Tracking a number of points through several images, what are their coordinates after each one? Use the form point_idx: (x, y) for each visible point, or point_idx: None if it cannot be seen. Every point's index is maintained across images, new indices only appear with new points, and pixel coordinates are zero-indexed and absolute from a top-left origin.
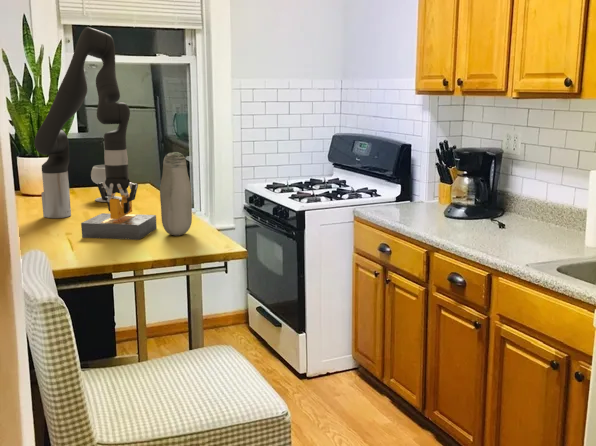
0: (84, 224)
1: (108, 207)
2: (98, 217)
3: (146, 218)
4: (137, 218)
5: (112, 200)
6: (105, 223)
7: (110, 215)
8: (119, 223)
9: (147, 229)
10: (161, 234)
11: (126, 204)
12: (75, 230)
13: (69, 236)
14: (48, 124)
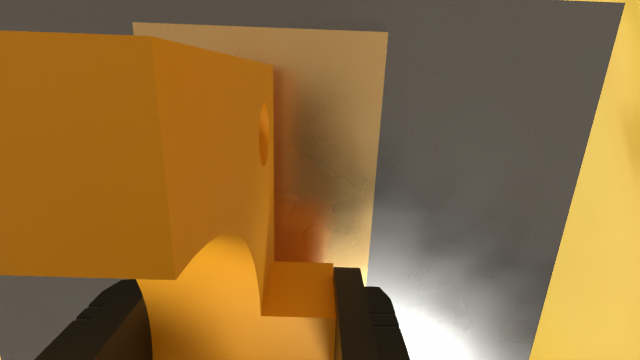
0: (571, 3)
1: (394, 322)
2: (497, 287)
3: (16, 296)
4: (102, 288)
5: (34, 37)
6: (324, 14)
7: (267, 65)
8: (153, 22)
9: None
10: None
11: (61, 358)
12: (623, 240)
13: (632, 59)
14: None
